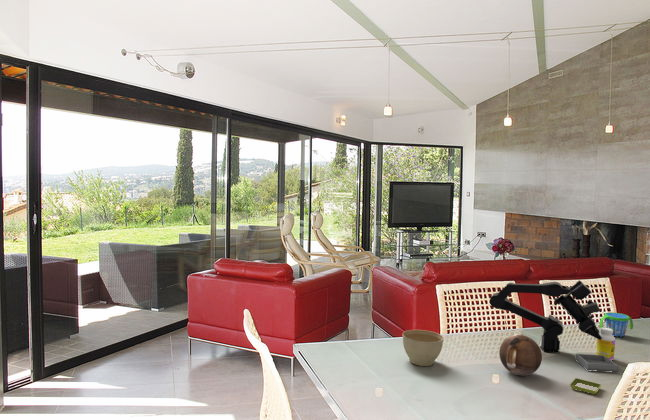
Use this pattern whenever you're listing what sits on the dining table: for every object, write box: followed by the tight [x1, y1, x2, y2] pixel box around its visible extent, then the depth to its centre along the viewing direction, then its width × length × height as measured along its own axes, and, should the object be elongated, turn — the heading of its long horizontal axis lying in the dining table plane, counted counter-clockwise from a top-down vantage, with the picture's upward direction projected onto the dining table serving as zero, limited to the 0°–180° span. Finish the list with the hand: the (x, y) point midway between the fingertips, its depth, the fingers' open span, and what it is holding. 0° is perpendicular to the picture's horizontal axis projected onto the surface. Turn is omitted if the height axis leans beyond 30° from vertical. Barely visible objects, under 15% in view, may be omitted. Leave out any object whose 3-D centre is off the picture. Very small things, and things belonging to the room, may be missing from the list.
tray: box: [575, 353, 619, 373], centre depth 195 cm, size 11×11×3 cm
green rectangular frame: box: [569, 377, 602, 395], centre depth 173 cm, size 9×9×2 cm
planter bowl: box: [402, 329, 444, 367], centre depth 194 cm, size 16×16×11 cm
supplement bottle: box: [595, 327, 616, 361], centre depth 204 cm, size 7×7×13 cm
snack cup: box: [599, 312, 634, 338], centre depth 239 cm, size 16×10×10 cm
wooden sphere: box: [498, 334, 543, 377], centre depth 184 cm, size 15×15×15 cm
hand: (599, 336), depth 205 cm, fingers open, 9 cm apart
